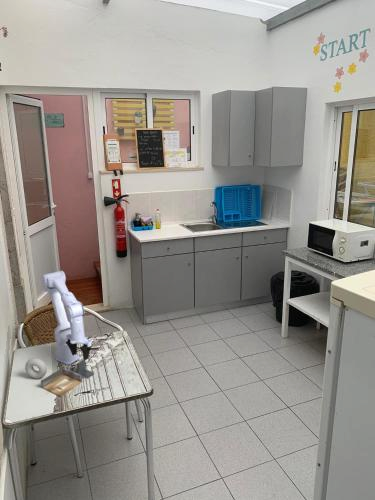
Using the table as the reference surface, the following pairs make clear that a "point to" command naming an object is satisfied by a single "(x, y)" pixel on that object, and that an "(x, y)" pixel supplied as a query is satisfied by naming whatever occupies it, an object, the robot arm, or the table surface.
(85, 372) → the bracket
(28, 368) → the donut
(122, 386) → the table surface
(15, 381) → the table surface
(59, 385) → the tray
